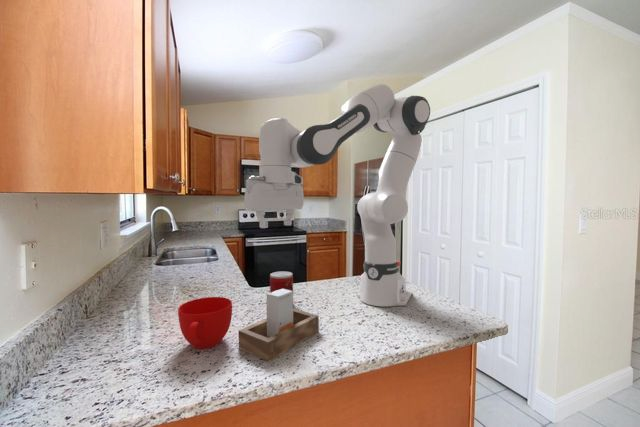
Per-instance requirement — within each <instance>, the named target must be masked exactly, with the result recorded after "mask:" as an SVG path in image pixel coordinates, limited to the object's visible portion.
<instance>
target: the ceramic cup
mask: <svg viewBox="0 0 640 427" xmlns="http://www.w3.org/2000/svg"><path fill="white" fill-rule="evenodd" d="M177 314H178V315H177V316H178V323H179V328H180V332H181V333H182V336H183V337H184V339H185V340H186V342H187V343H188V344H190V345H191V346H193V348H195V349H196V350H207V349H211V348H214V347H216V346H218V345H219V344H220V343H221V341H222V340H223V339H224V337H225V336H226V334H227V333H228V332H229V329H230V326H231V322H232V316H233V315H232V314H233V301H232V300H231V299H230V298H228V297H227V298H226V297H224V296H222V297H221V296H210V297H209V296H208V297H207V296H206V297H201V298H195V299H192V300H189V301H185V302H184V303H182V304H181V305H179V307H178V309H177Z"/></svg>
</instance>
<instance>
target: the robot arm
mask: <svg viewBox="0 0 640 427" xmlns="http://www.w3.org/2000/svg"><path fill="white" fill-rule="evenodd" d="M430 116H431V107H430V104H429V101H428V100H427V99H426V97H424V96H421V95H411V96H404V97H397V98H395V94H394V91H393V90H392V89H391V87H390V86H389V85H386V84H383V83H378V84H375V85H372V86H370V87H367V88H365V89H363V90H361V91H360V92H358V93H357V94H354V95H353V96H352V97H350V98H349V99H348V100H347V101H345V102H344V104H343V105H342V106H341V111H340V115H339V116H338V117H337V118H335V119H333V120H332V121H330V122H329V123H325V124H317V125H316V124H315V125H312V126H309V127H308V128H307V129H305V130H302V131H301V129H298V128H296V127H295V126H294V125H293V124H291V123H290V122H289V121H288V119H287V118H281V117H276V118H271V119H268V120H266V121H264V122H263V123H262V124H261V126H260V127H259V128H260V129H259V136H258V153H259V156H260V162H259V166H258V167H259V169H258V170H259V171H258V172H259V176H255V175H251V176H249V177H248V178H247V179H246V180H245V190H244V200H243V201H244V202H243V208H244V210H245V211H246V212H255V216H256V218H257V220H258V222H259V228H260V229H266V228H267V229H268V228H269V221H268V220H266V218H265V215H266V212H268V211H269V212H273V211H285V214H286V217H285V219H283V225H284V226H292V224H293V223H292V219H293V218H294V215H295V211H296V210H302V208H303V207H304V202H305V201H304V199H305V198H304V196H305V195H304V189H303V186H302V185H303V184H304V178H303V177H302V176H301V175H299V174H297V173H296V172H294V171H292V166H294V167H297V168H308V167H312V166H316V165H317V166H320V165H324V164H327V163H328V162H330V161H331V160H332V159H333V157H334V156H335V155H336V152H338V150H339V147H340V146H341V145H342V144H343V143H344V142H345V141H346V140H348V139H349V138H350V137H352V136H353V135H355V134H358V133H361V132H364V131H366V130H367V129H369V128H371V127H373V128H374V129H375V130H377V131H378V132H381V133H392V138H391V142H390V144H389V146H388V147H387V149H386V153H385V155H384V157H383V160H382V162H381V164H380V167H379V169H378V173H377V175H378V184H377V188H376V190H375V192H369V193H367V194H365V195H363V196H362V197H361V198H360V199H359V200H358V201H357V206H356V209H357V212H358V214H359V217H360V220H361V227H362V230H363V232H362V233H363V238H364V261H363V273H362V274H361V275H360V284H359V285H360V288H359V292H357V293H356V296H357V297H358V298H359V299H360V301H361V302H363V303H364V304H367V305H370V306H373V307H375V306H376V307H394V306H407V305H408V303H409V300H410V298H411V296H413V293H412V292H413V291H412V290H409V289H407V288H406V287H407V286H406V278H404V276H403V275H402V274H401V273H400V272H399V271H400V270H399V267H401V261H400V260H397V239H396V236H394V233H393V230H392V226H391V225H392V224H396V223H399V222H402V221H403V220H404V219H405V218H406V216H407V214H408V210H409V204H408V201H407V198H406V197H407V191H408V189H407V188H408V184H409V181H410V178H411V177H412V176H411V175H412V173H413V171H414V167H415V166H416V162H417V161H418V157H419V156H420V155H419V154H420V152H421V146H422V141H423V137H422V135H421V133H422V132H423V131H424V129H425V128H426V126H427V124H428V122H429V119H430Z"/></svg>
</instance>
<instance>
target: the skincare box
mask: <svg viewBox="0 0 640 427" xmlns="http://www.w3.org/2000/svg"><path fill="white" fill-rule="evenodd" d="M293 309H294V290H293V291H290V290H286V289H280V290H276V291H273V292H271V293H270V292H269V293H266V318H267V338H269V337H271V336H273V335H275V334H277V333H279V332H281V331H283V330H285V329H287V328H289V327H291V326H293Z"/></svg>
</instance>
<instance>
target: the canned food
mask: <svg viewBox="0 0 640 427" xmlns="http://www.w3.org/2000/svg"><path fill="white" fill-rule="evenodd" d="M293 274H294V273H293V272H291V271H284V270H283V271H280V270H279V271H275V272H272V273H270V274H269V286H270V287H269V290H270V291H269V293H271V292H273V291H276V290H280V289H286V290H290V291H293V292H294V275H293Z"/></svg>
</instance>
